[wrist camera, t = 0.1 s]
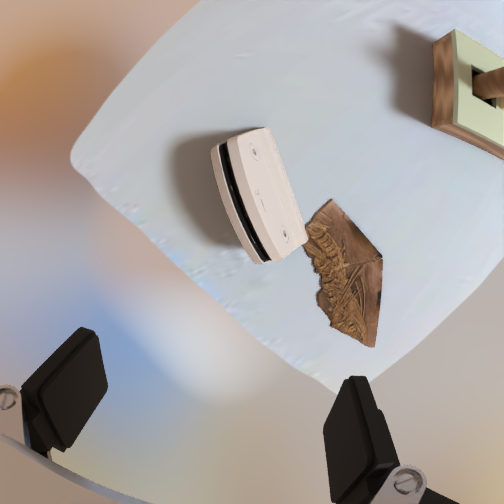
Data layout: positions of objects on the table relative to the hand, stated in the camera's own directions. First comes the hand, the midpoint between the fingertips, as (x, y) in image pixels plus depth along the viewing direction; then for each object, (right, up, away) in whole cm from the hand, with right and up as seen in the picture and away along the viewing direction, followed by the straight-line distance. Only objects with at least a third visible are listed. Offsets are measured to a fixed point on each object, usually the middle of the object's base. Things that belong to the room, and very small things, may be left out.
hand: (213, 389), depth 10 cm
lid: (+39, +27, +15) cm, 50 cm away
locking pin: (+33, +29, +20) cm, 49 cm away
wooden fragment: (+16, 0, +32) cm, 36 cm away
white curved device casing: (+3, +13, +29) cm, 32 cm away
